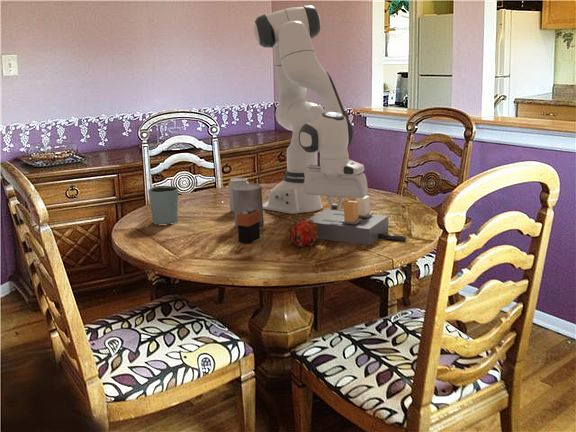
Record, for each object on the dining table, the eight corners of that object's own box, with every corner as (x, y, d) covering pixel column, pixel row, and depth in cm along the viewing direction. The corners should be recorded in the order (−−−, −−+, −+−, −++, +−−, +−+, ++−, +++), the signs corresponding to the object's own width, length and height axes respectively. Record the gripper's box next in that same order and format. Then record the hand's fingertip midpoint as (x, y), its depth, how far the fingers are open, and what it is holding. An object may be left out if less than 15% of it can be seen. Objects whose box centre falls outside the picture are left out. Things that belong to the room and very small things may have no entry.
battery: (260, 238, 202) (259, 207, 199) (249, 244, 196) (248, 212, 194) (249, 236, 204) (247, 206, 201) (237, 242, 198) (236, 211, 196)
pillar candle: (250, 220, 223) (247, 178, 219) (269, 225, 216) (267, 181, 212) (229, 226, 216) (225, 183, 212) (248, 231, 210) (245, 187, 206)
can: (242, 214, 231) (240, 181, 228) (226, 212, 235) (224, 180, 232) (254, 209, 237) (252, 177, 234) (238, 207, 241) (236, 176, 238)
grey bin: (145, 222, 224) (142, 189, 221) (168, 216, 232) (166, 184, 228) (163, 227, 218) (160, 193, 215) (186, 221, 225) (183, 187, 222)
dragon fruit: (315, 244, 199) (299, 261, 190) (294, 227, 200) (277, 243, 191) (329, 225, 195) (313, 242, 185) (307, 208, 196) (290, 224, 186)
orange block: (340, 222, 196) (340, 203, 194) (347, 218, 200) (347, 199, 199) (355, 224, 194) (355, 205, 192) (362, 220, 198) (362, 201, 196)
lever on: (352, 216, 202) (352, 197, 201) (358, 212, 207) (358, 194, 205) (367, 218, 200) (367, 199, 199) (373, 214, 204) (373, 195, 203)
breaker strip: (304, 236, 202) (303, 221, 201) (326, 223, 215) (325, 209, 214) (397, 248, 187) (397, 231, 186) (414, 233, 201) (414, 218, 199)
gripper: (299, 166, 198) (301, 209, 202) (361, 169, 189) (362, 215, 192) (308, 162, 203) (309, 204, 207) (369, 165, 194) (369, 209, 198)
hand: (335, 209), depth 200 cm, fingers closed
